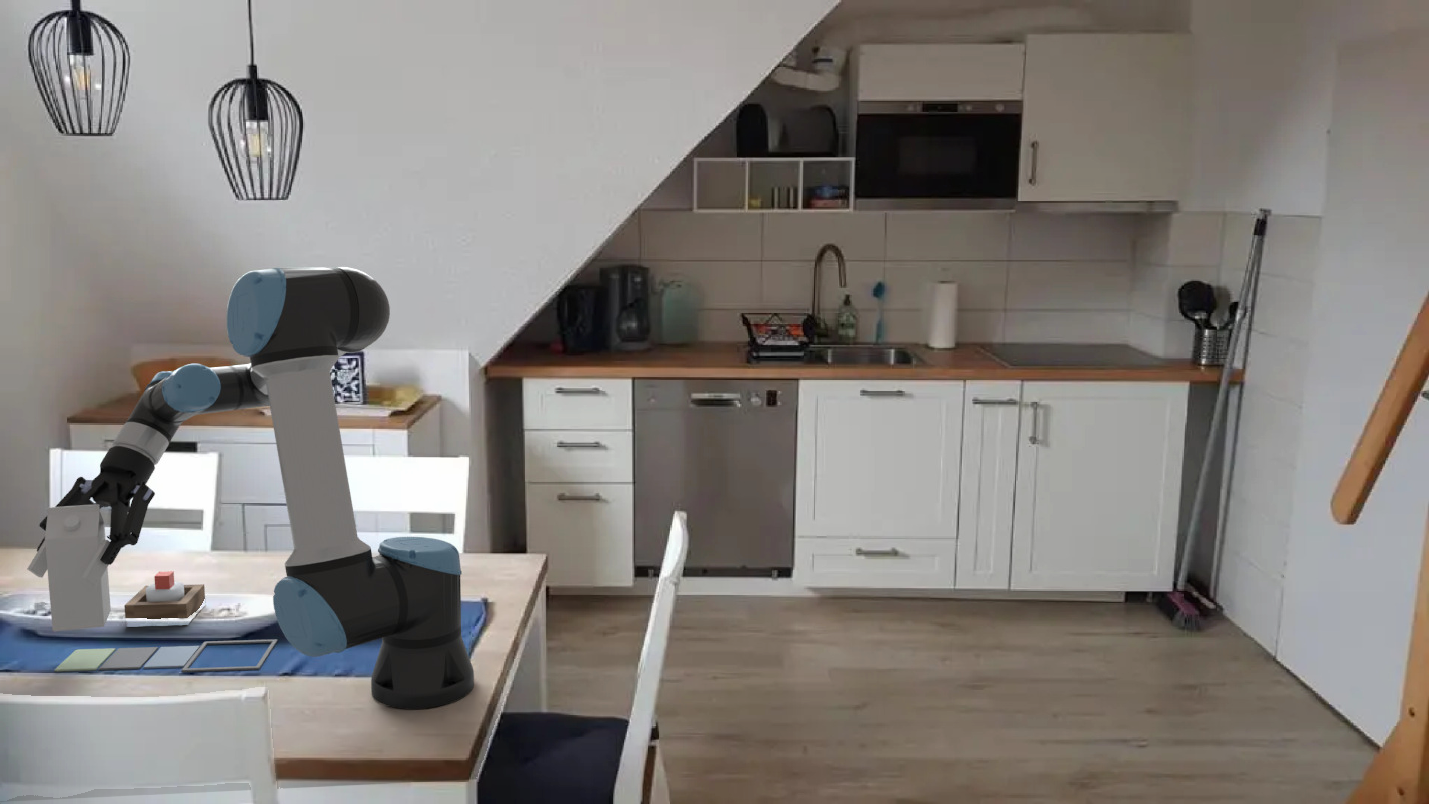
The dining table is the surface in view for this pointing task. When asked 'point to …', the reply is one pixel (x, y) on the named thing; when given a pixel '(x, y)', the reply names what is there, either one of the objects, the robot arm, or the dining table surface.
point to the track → (139, 657)
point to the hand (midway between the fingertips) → (61, 577)
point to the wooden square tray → (166, 604)
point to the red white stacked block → (165, 588)
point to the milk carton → (75, 567)
